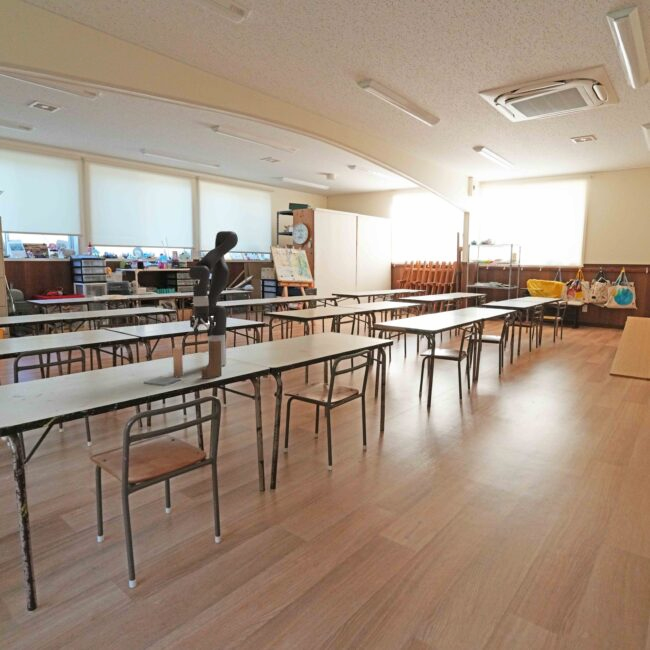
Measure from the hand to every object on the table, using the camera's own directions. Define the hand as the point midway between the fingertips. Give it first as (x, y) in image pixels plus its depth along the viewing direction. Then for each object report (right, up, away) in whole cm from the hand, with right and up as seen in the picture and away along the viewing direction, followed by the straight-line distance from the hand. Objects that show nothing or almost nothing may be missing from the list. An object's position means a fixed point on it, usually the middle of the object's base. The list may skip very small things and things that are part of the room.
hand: (202, 336), depth 242 cm
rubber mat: (-14, -21, -21) cm, 33 cm away
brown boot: (+7, -20, -11) cm, 24 cm away
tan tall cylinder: (-10, -20, -10) cm, 24 cm away
